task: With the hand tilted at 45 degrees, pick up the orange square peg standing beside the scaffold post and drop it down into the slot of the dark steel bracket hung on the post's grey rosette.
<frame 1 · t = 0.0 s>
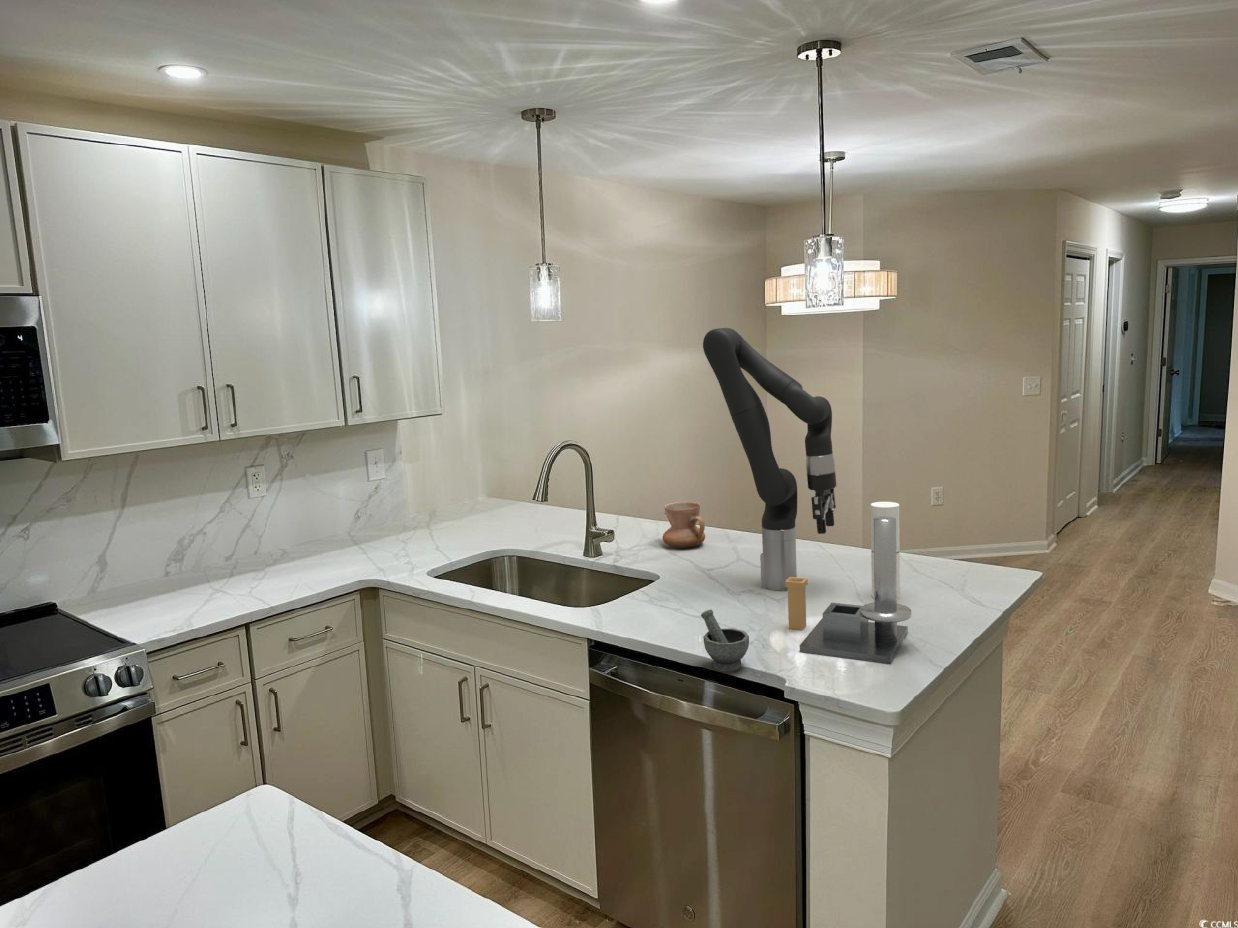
hand: (826, 529, 233), 17 cm above the worktop, tool pointing down, fingers open, 8 cm apart
ceramic jug: (685, 546, 291), on the worktop
mortar and pestle: (724, 665, 189), on the worktop
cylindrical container: (885, 597, 228), on the worktop
rosette bracket: (854, 641, 197), on the worktop
orange square peg: (797, 627, 209), on the worktop
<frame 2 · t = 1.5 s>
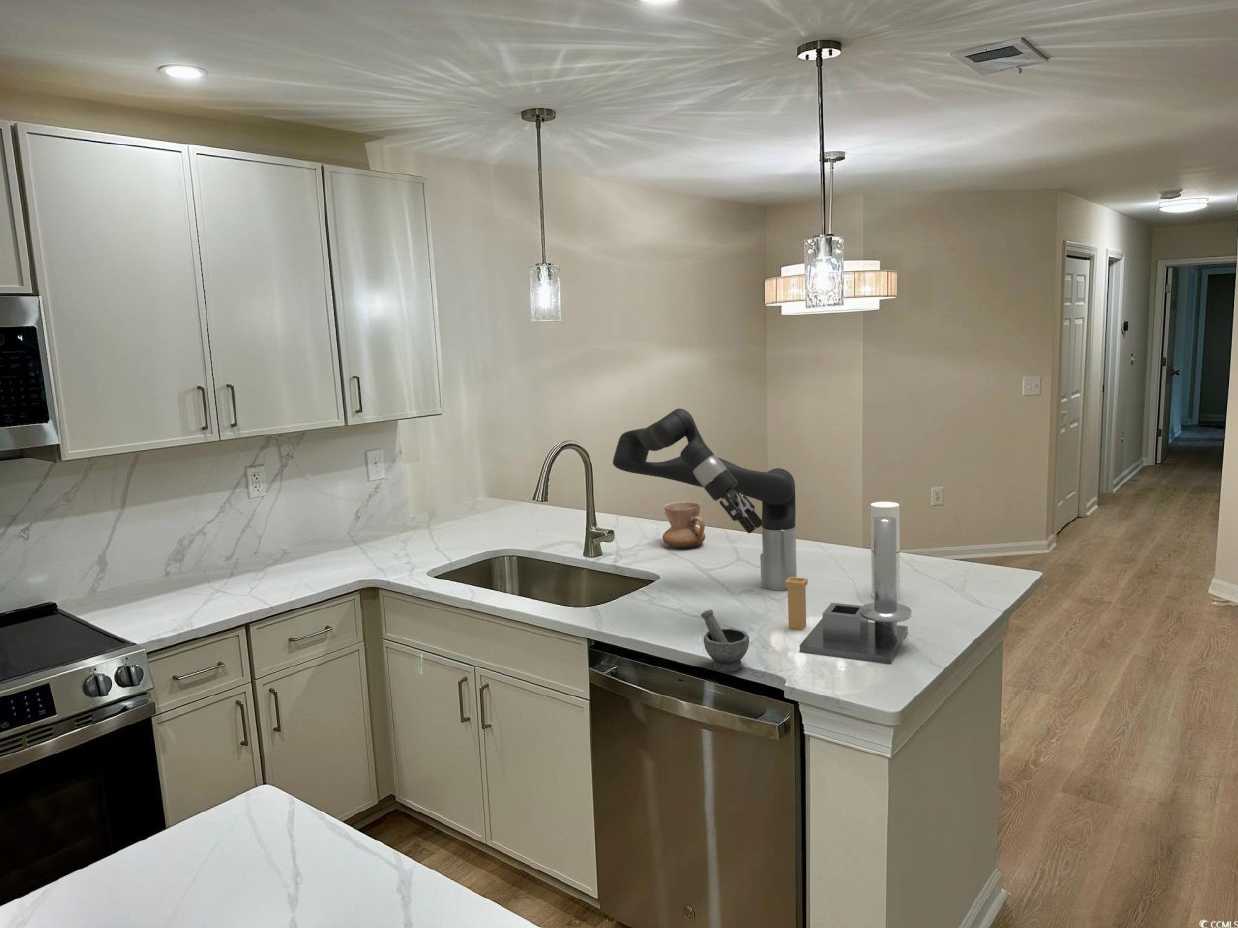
hand: (756, 528, 210), 24 cm above the worktop, tool tilted 40°, fingers open, 8 cm apart
nothing on the worktop moved.
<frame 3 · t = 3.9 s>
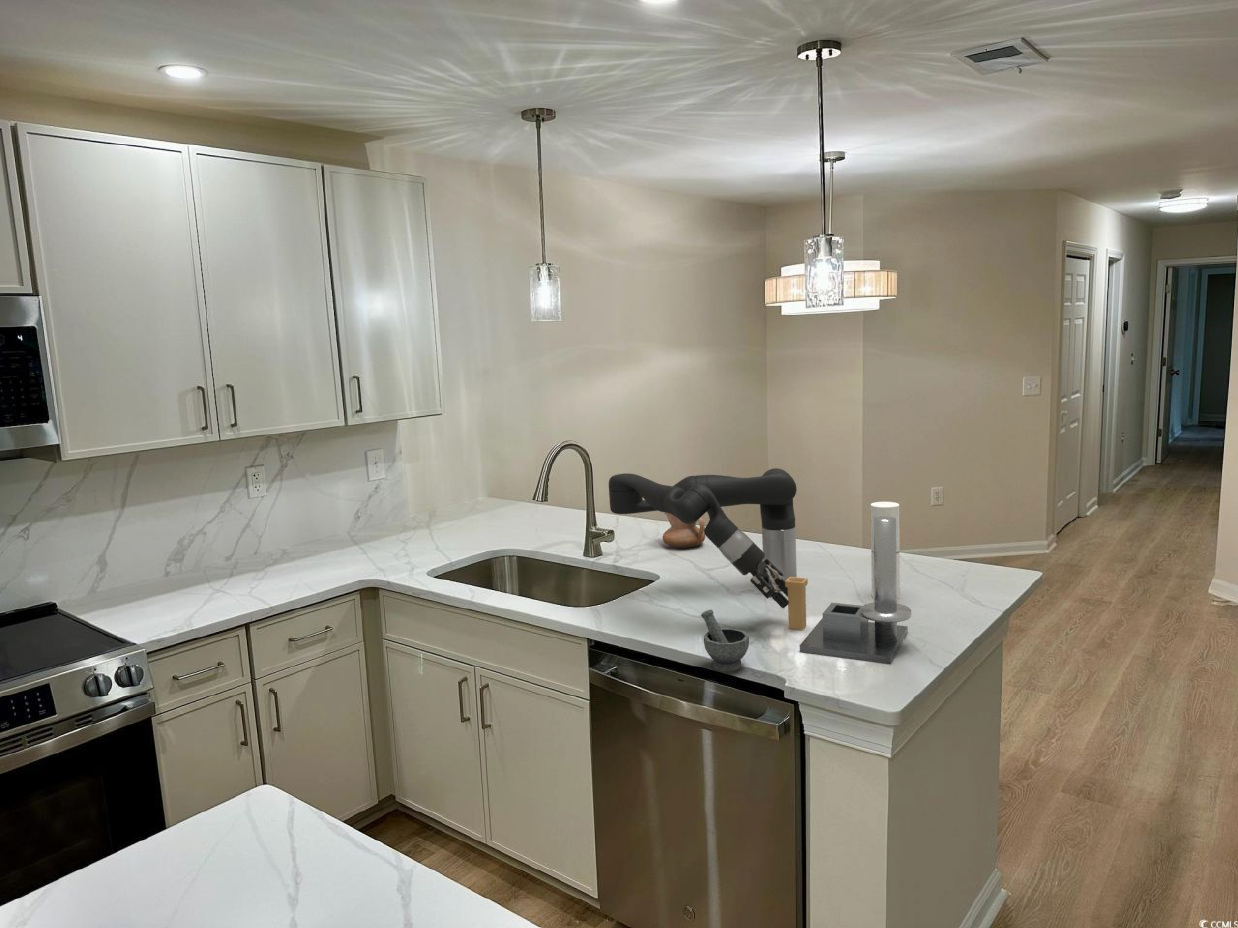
hand: (789, 599, 207), 7 cm above the worktop, tool tilted 45°, fingers open, 8 cm apart
nothing on the worktop moved.
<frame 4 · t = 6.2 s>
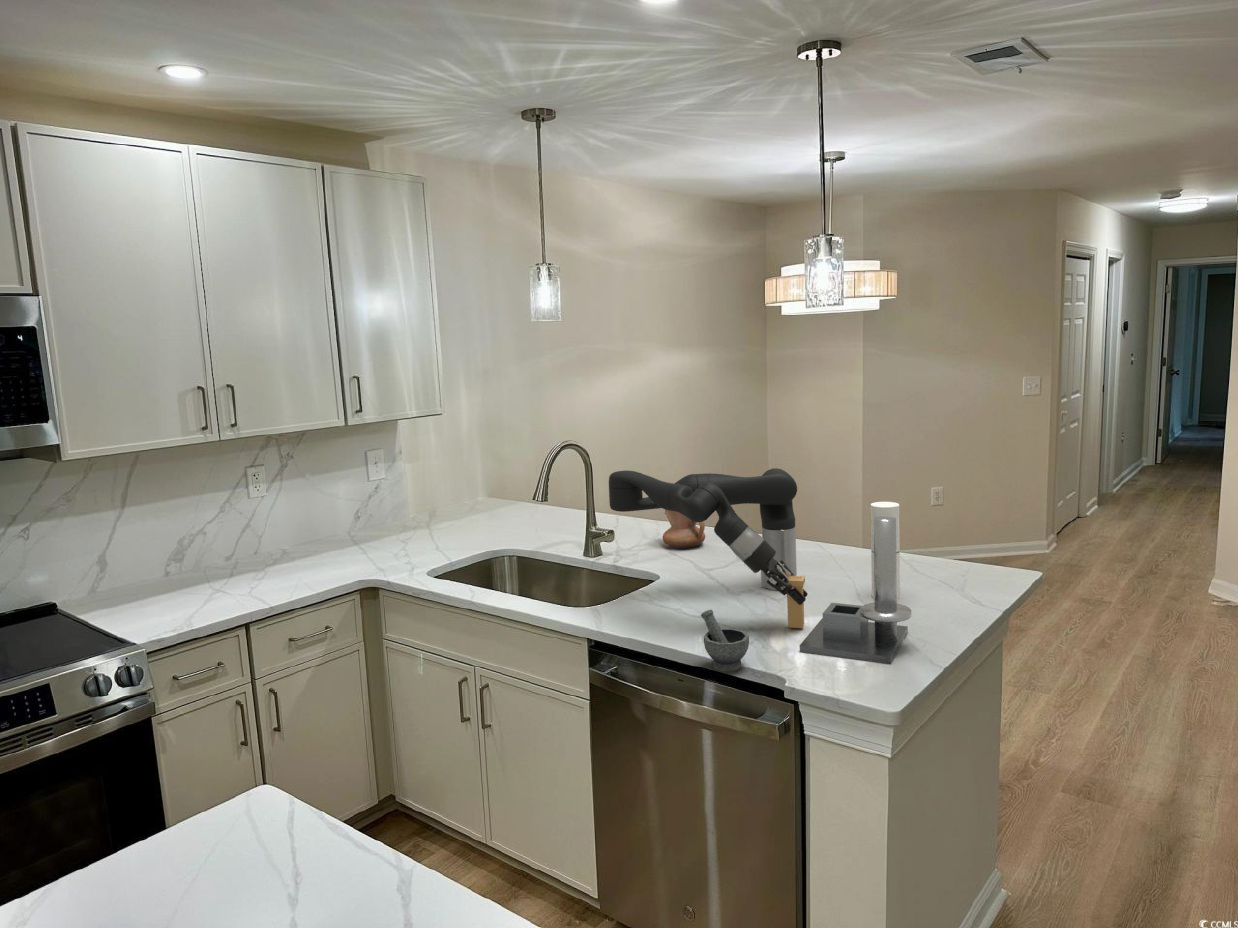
hand: (803, 599, 207), 7 cm above the worktop, tool tilted 45°, fingers closed on orange square peg, 3 cm apart
orange square peg: (796, 625, 208), point 1 cm above the worktop, touching gripper
everything else where it was.
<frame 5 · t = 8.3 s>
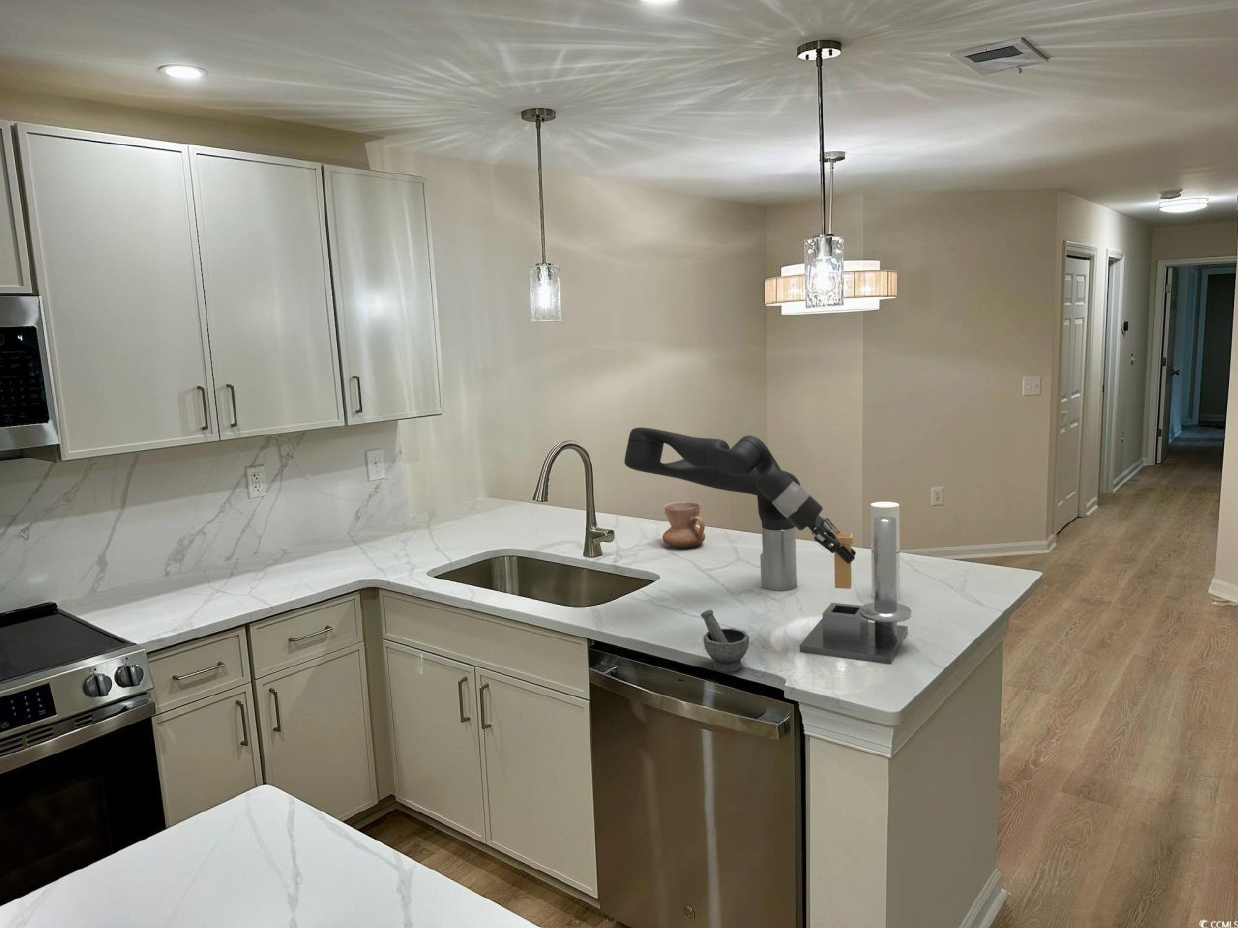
hand: (852, 558, 195), 20 cm above the worktop, tool tilted 45°, fingers closed on orange square peg, 3 cm apart
orange square peg: (843, 586, 196), point 13 cm above the worktop, touching gripper
everything else where it was.
when the fingers open (9 cm above the worktop, at t = 10.5 s): orange square peg drops 1 cm, resting on rosette bracket.
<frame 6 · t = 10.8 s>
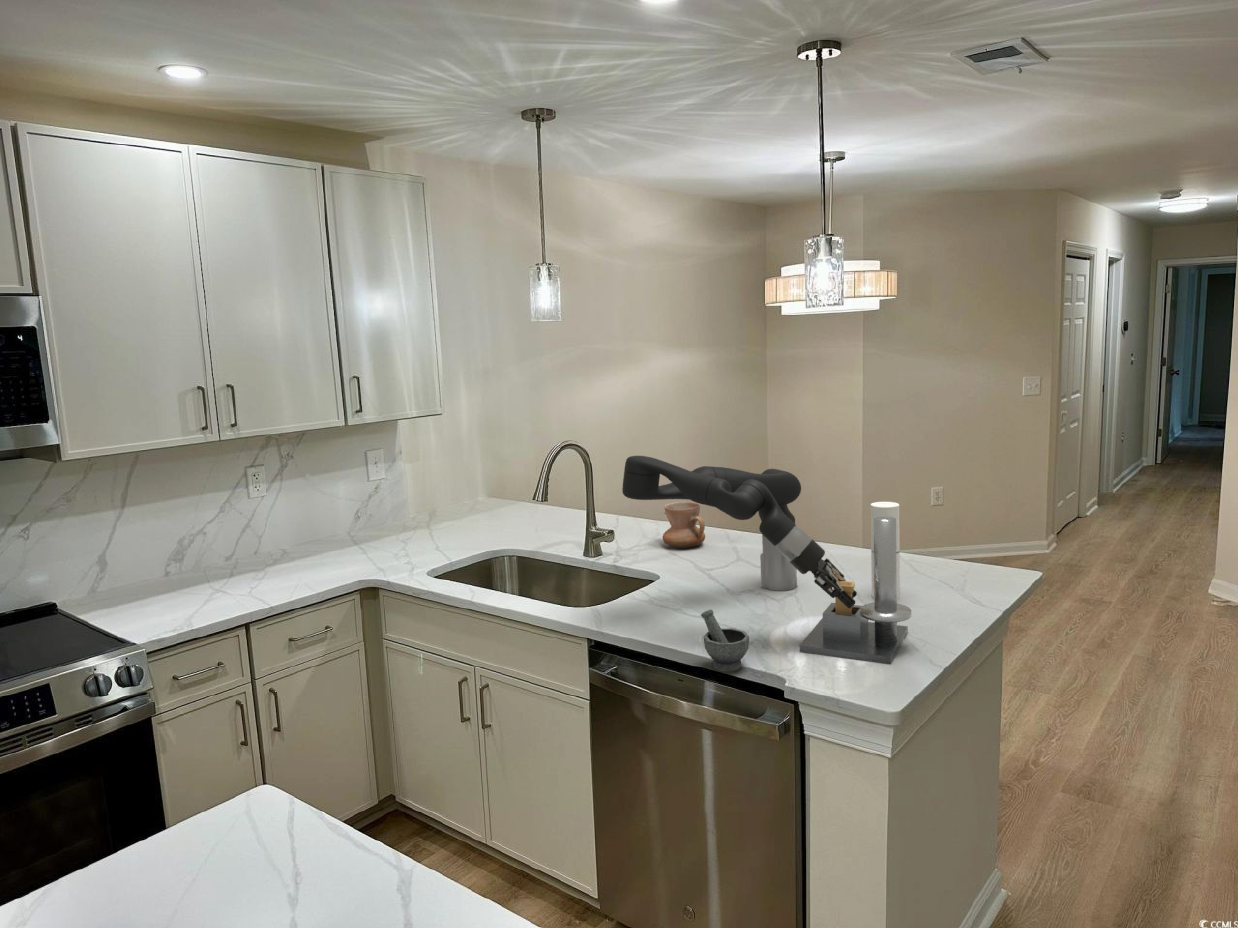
hand: (853, 600, 196), 10 cm above the worktop, tool tilted 45°, fingers open, 5 cm apart
orange square peg: (843, 633, 199), point 2 cm above the worktop, touching rosette bracket
everything else where it was.
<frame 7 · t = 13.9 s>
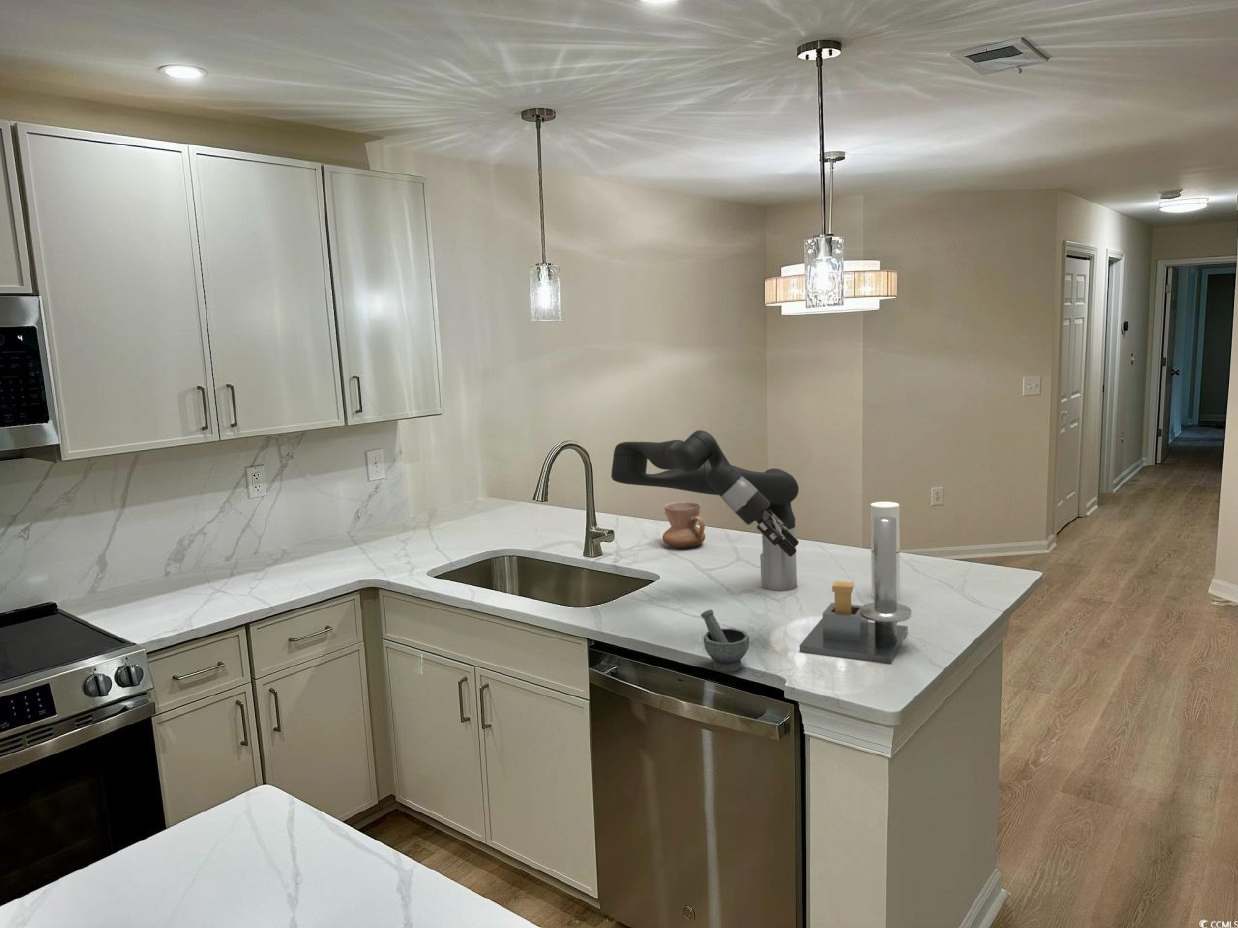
hand: (795, 549, 199), 21 cm above the worktop, tool tilted 45°, fingers open, 8 cm apart
nothing on the worktop moved.
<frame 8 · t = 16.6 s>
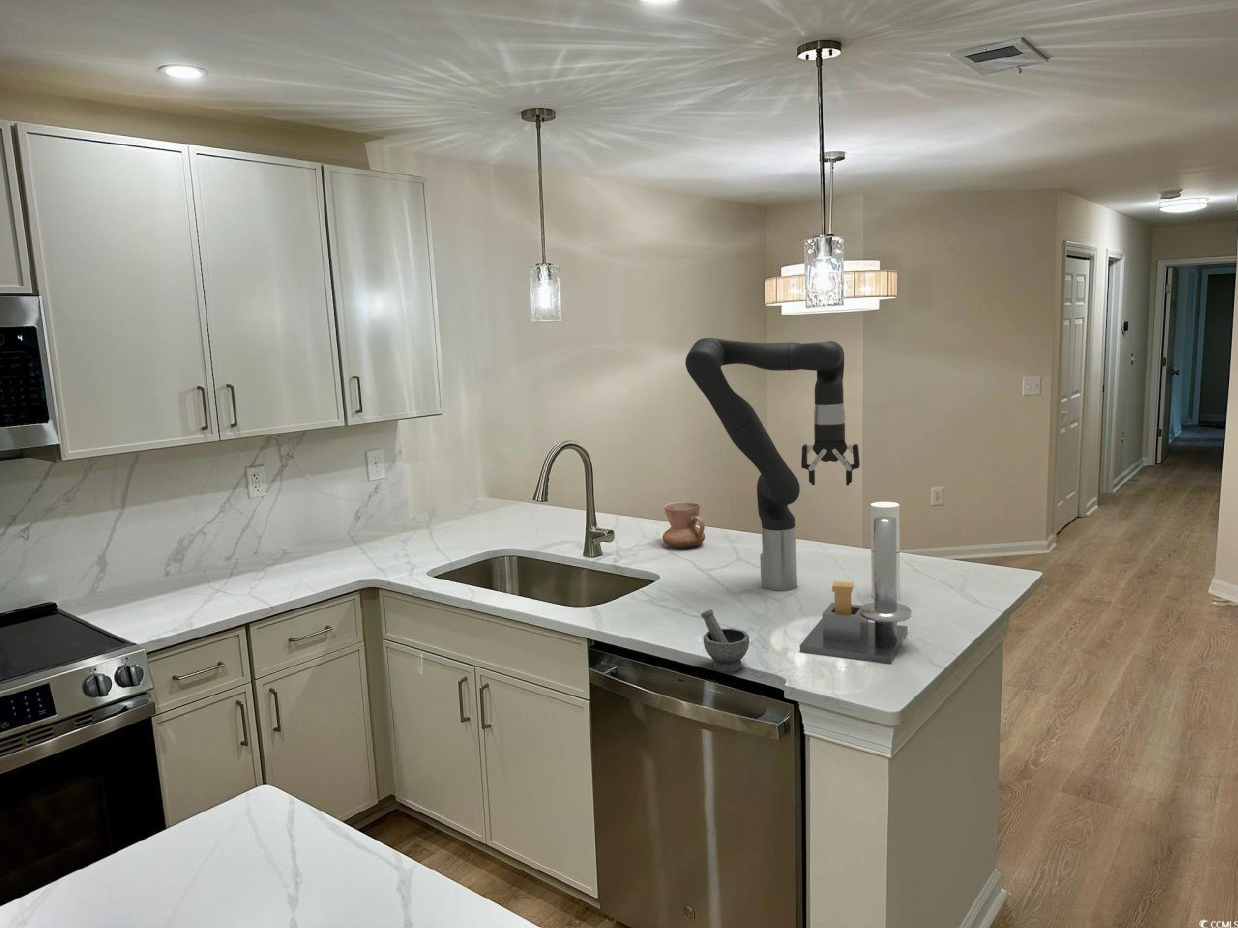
hand: (830, 484, 217), 32 cm above the worktop, tool pointing down, fingers open, 8 cm apart
nothing on the worktop moved.
at the end: orange square peg 0.9 cm from the target spot on the rosette bracket, point 1.5 cm above the rosette bracket's base; orange square peg tilted 0°; the gripper is holding nothing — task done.
